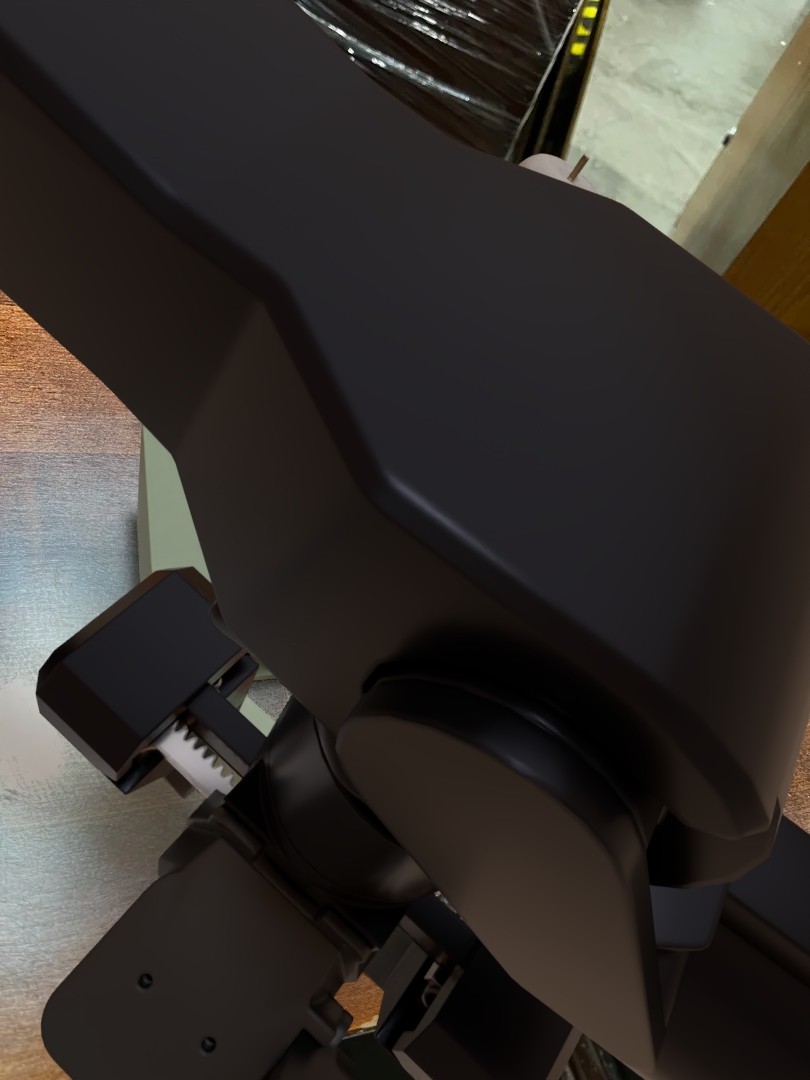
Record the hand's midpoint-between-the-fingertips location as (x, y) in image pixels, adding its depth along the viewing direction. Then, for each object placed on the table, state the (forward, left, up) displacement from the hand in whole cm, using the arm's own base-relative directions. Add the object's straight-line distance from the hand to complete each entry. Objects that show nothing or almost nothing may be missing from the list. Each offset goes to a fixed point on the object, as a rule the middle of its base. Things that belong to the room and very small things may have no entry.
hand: (274, 868), depth 32 cm
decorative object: (+32, +51, -12) cm, 62 cm away
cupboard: (+4, +17, -12) cm, 21 cm away
